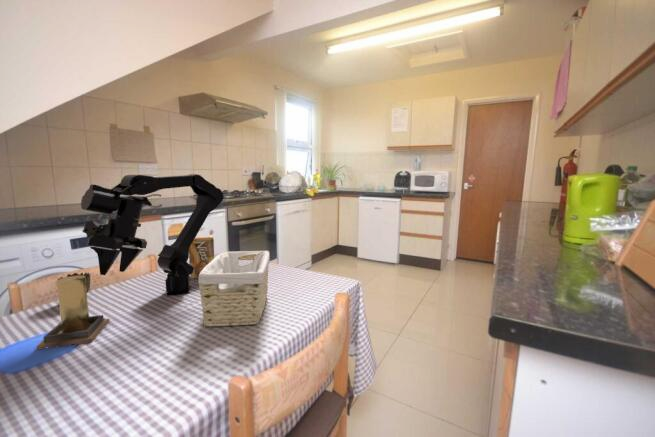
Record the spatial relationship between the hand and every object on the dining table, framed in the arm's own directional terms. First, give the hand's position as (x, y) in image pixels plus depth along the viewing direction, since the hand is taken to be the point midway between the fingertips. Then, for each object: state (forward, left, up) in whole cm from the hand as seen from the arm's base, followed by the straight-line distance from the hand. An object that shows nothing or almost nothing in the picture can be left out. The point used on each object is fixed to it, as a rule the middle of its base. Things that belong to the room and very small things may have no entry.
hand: (112, 273), depth 77 cm
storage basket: (-33, +7, -12) cm, 36 cm away
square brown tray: (+5, +10, -12) cm, 16 cm away
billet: (+5, +10, -11) cm, 15 cm away
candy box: (-20, -26, -12) cm, 35 cm away
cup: (+14, -12, -12) cm, 22 cm away
